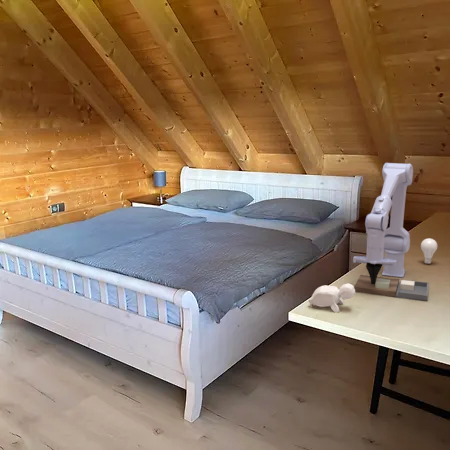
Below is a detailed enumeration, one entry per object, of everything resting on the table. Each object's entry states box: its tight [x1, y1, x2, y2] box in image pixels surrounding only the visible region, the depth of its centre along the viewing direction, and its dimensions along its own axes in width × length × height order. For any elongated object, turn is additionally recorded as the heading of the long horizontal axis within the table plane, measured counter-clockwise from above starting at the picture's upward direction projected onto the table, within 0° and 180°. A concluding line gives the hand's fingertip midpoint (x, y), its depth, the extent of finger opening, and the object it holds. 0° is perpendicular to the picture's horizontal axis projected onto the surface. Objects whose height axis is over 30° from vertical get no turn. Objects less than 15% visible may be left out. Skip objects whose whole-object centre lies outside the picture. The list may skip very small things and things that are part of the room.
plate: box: [353, 274, 400, 298], centre depth 174 cm, size 14×14×2 cm
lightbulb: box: [420, 237, 438, 265], centre depth 199 cm, size 6×6×11 cm
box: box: [395, 279, 430, 302], centre depth 169 cm, size 14×10×2 cm
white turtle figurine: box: [308, 282, 356, 313], centre depth 157 cm, size 9×8×15 cm
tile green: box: [375, 278, 390, 289], centre depth 170 cm, size 4×4×2 cm
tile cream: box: [400, 279, 416, 291], centre depth 172 cm, size 4×4×2 cm
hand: (373, 283), depth 171 cm, fingers closed
